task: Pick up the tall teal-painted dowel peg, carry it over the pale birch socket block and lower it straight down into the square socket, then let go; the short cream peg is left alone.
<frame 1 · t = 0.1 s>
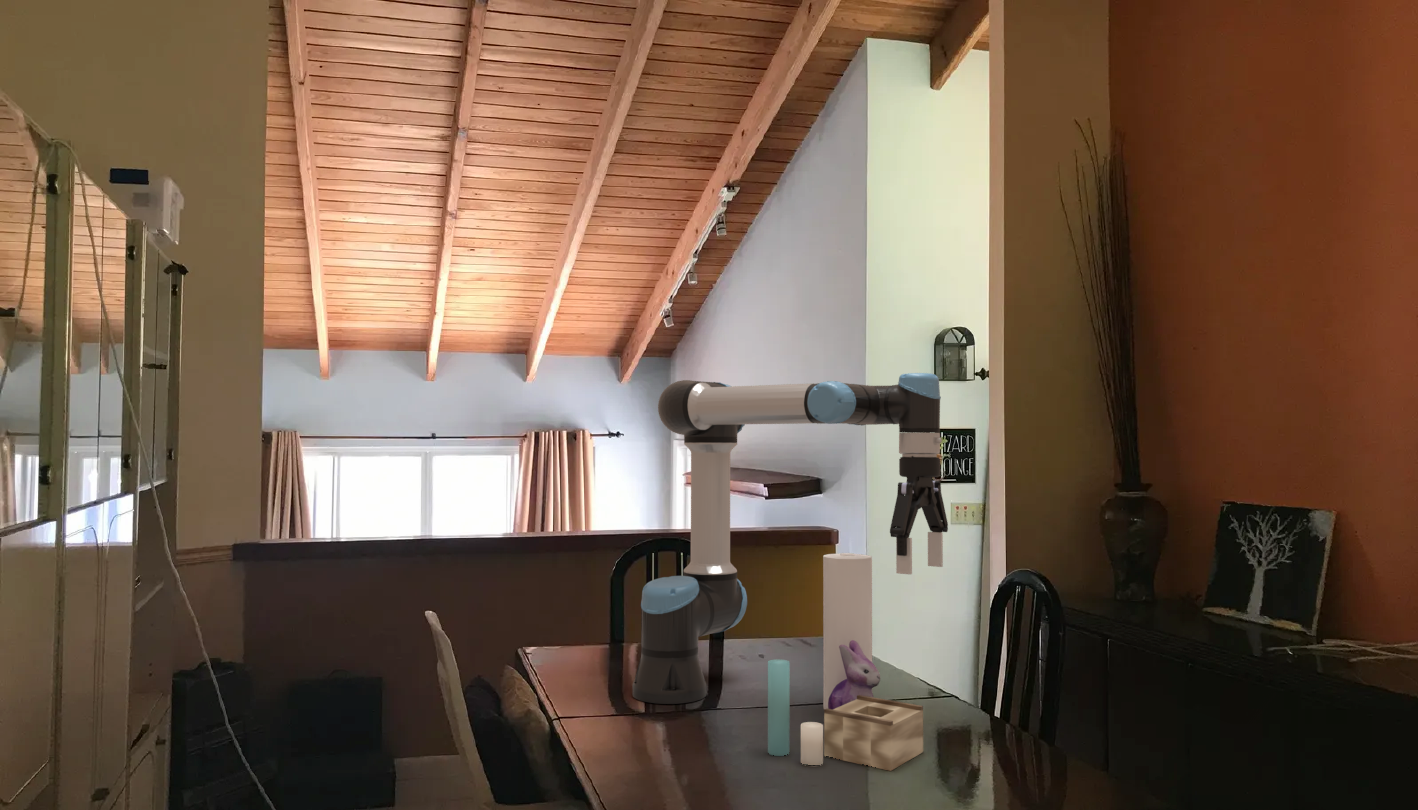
hand: (920, 570, 183), 28 cm above the table, fingers open, 13 cm apart
figurine: (855, 724, 181), on the table
cream peg: (811, 762, 158), on the table
teal peg: (778, 752, 163), on the table
cylinder container: (847, 709, 191), on the table
socket block: (874, 754, 163), on the table
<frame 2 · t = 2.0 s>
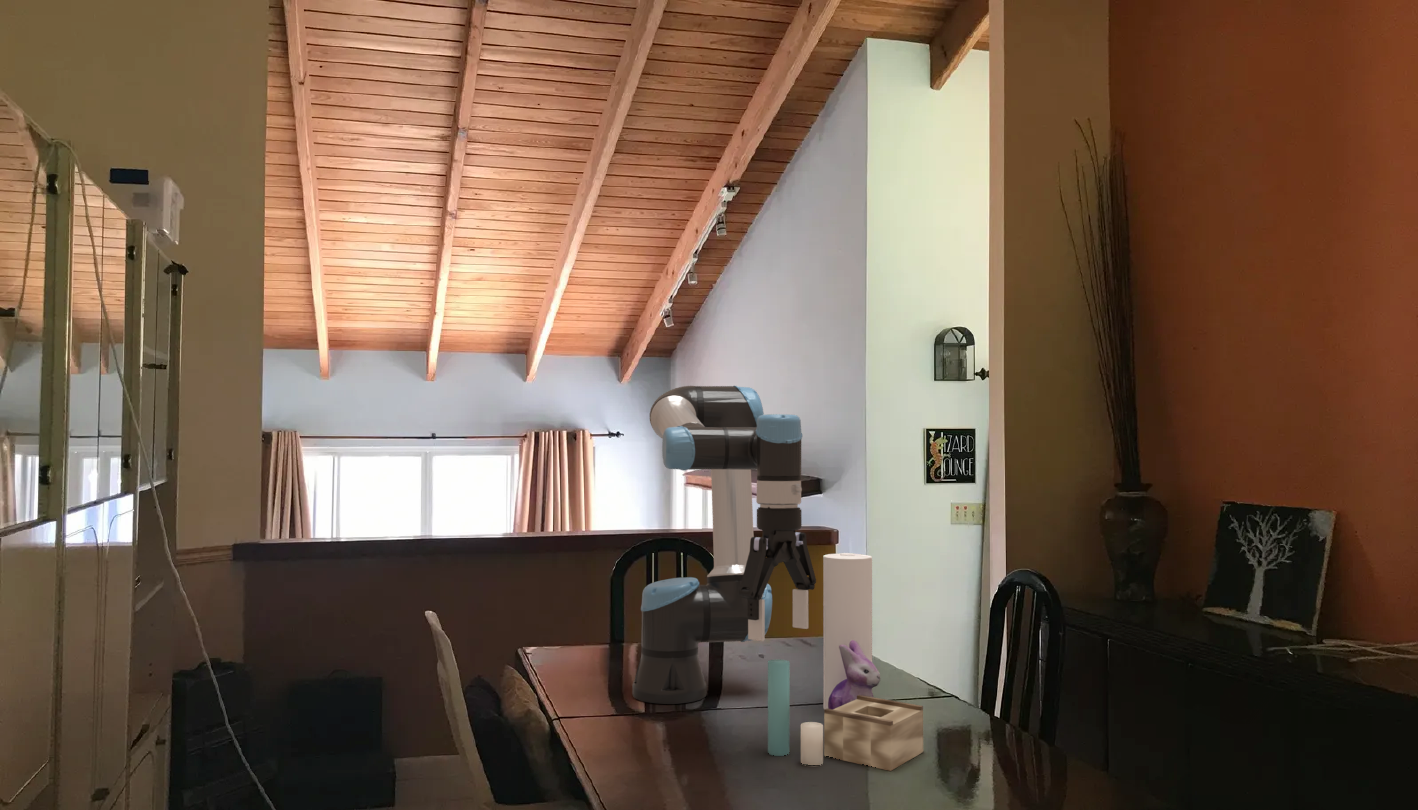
hand: (779, 633, 164), 20 cm above the table, fingers open, 13 cm apart
nothing on the table moved.
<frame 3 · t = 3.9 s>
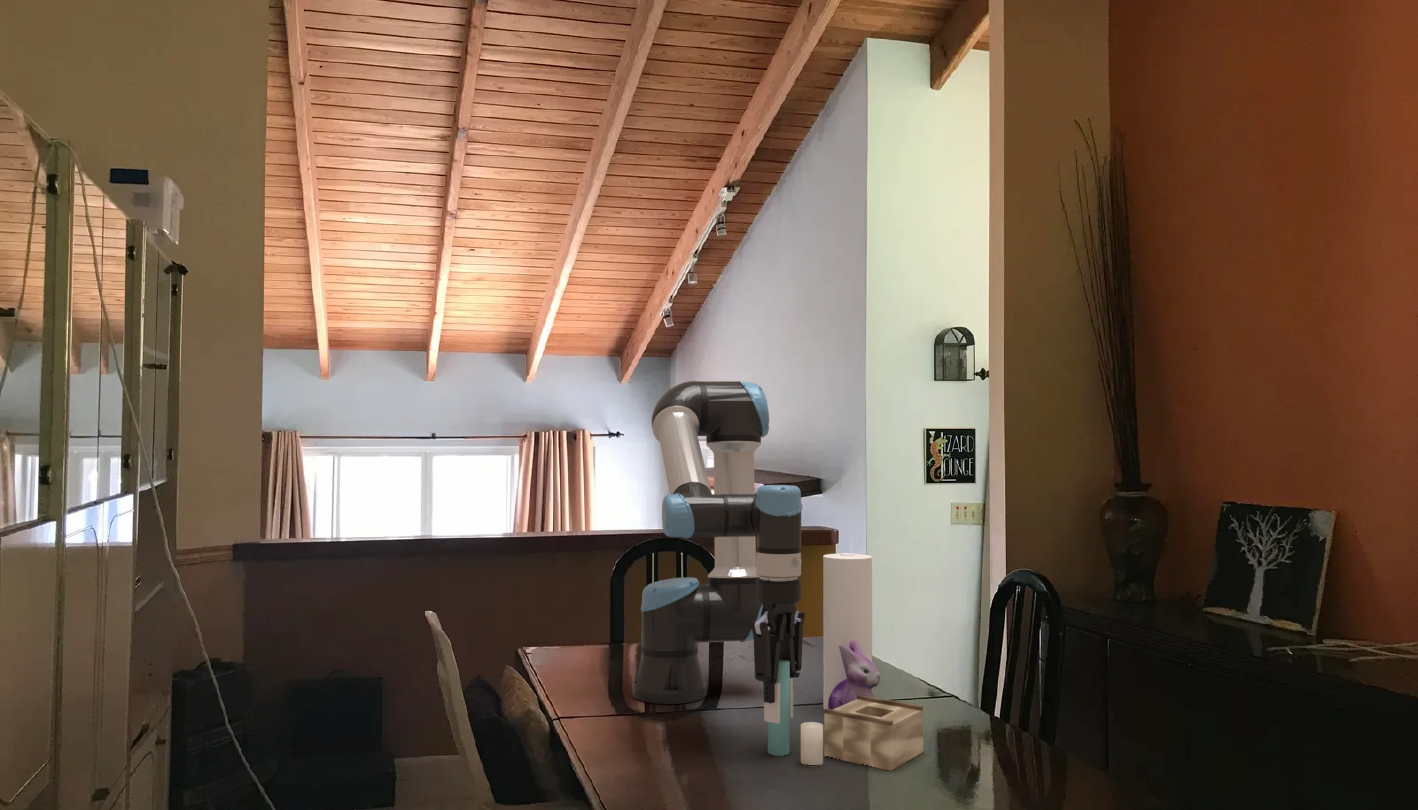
hand: (778, 718, 164), 6 cm above the table, fingers closed on teal peg, 3 cm apart
teal peg: (778, 752, 163), on the table, touching gripper
everything else where it was.
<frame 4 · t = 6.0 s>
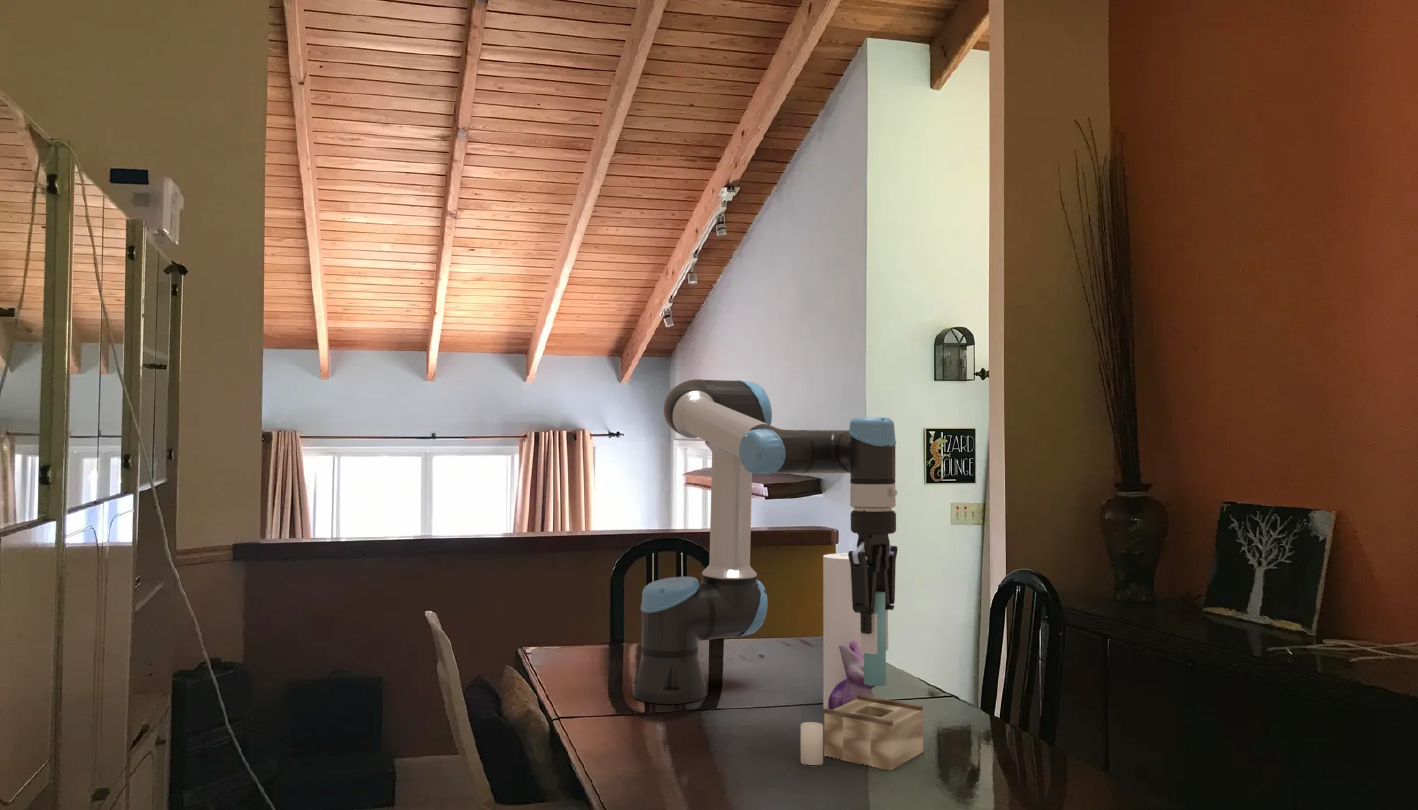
hand: (874, 650, 163), 17 cm above the table, fingers closed on teal peg, 3 cm apart
teal peg: (875, 683, 163), point 12 cm above the table, touching gripper
everything else where it was.
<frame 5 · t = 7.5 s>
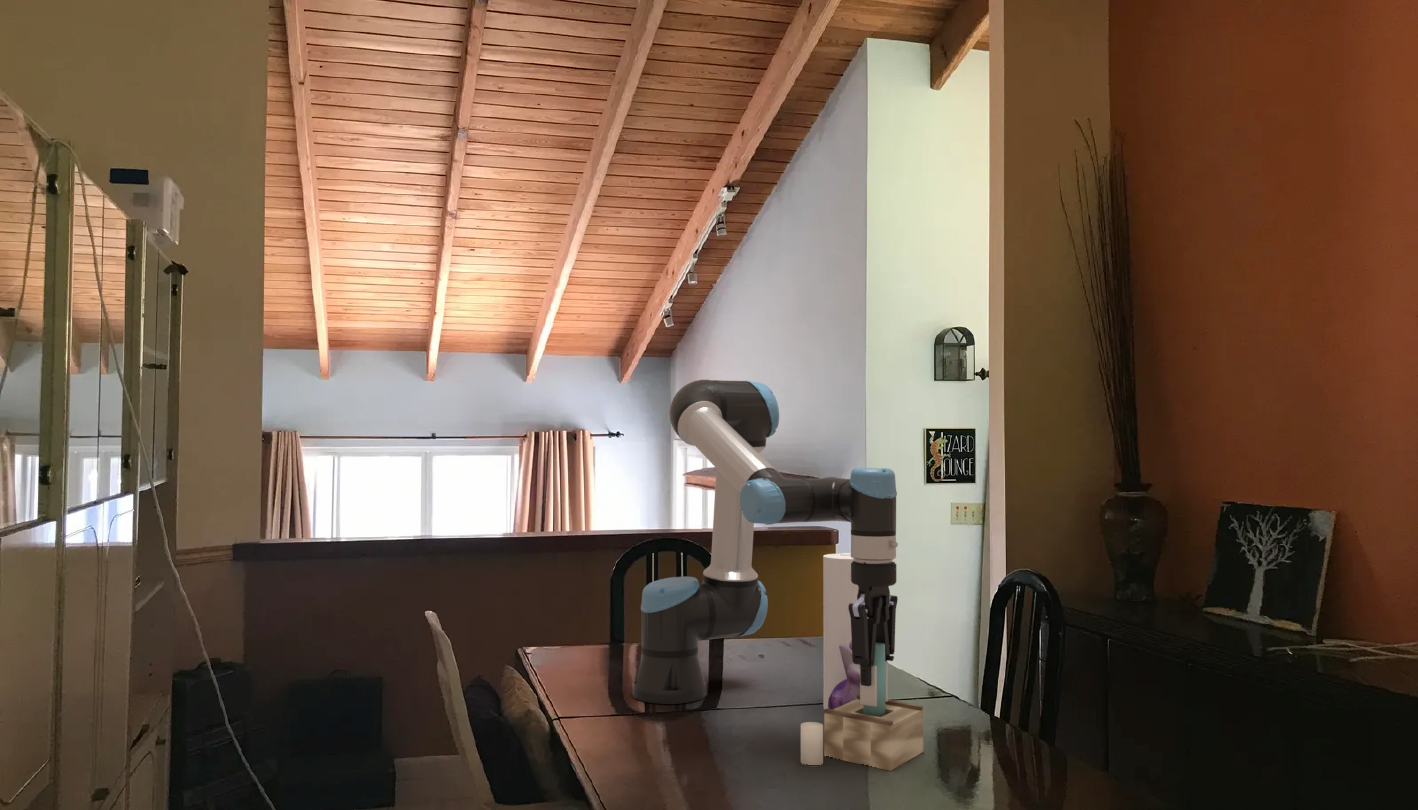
hand: (874, 702, 163), 9 cm above the table, fingers closed on teal peg, 3 cm apart
teal peg: (874, 735, 163), point 3 cm above the table, touching gripper
everything else where it was.
when the fingers open (8 cm above the table, at t = 8.4 s): teal peg drops 3 cm, resting in socket block.
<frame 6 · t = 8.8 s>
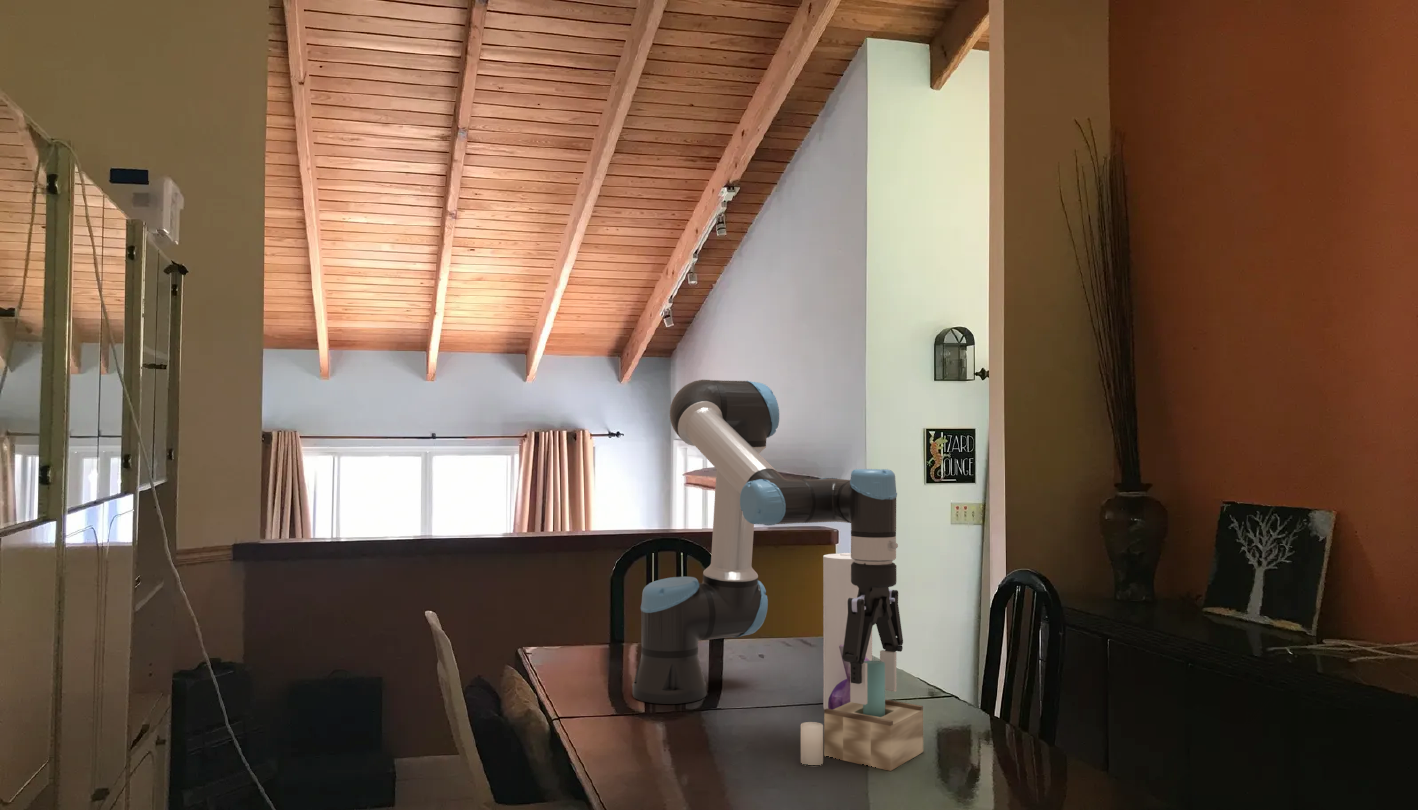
hand: (873, 696, 163), 9 cm above the table, fingers open, 10 cm apart
teal peg: (874, 754, 163), resting in socket block
everything else where it was.
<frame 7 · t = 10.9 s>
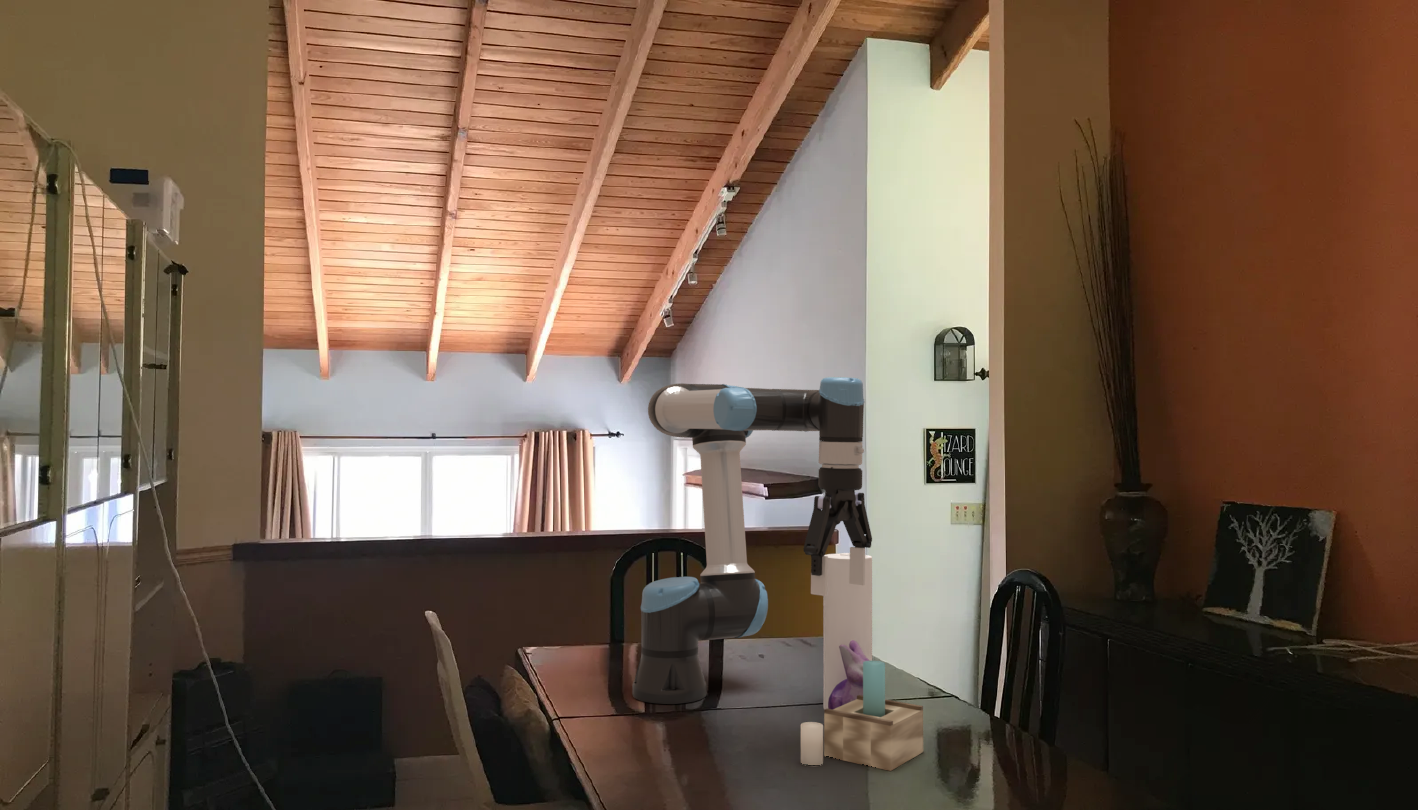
hand: (838, 589, 170), 26 cm above the table, fingers open, 13 cm apart
nothing on the table moved.
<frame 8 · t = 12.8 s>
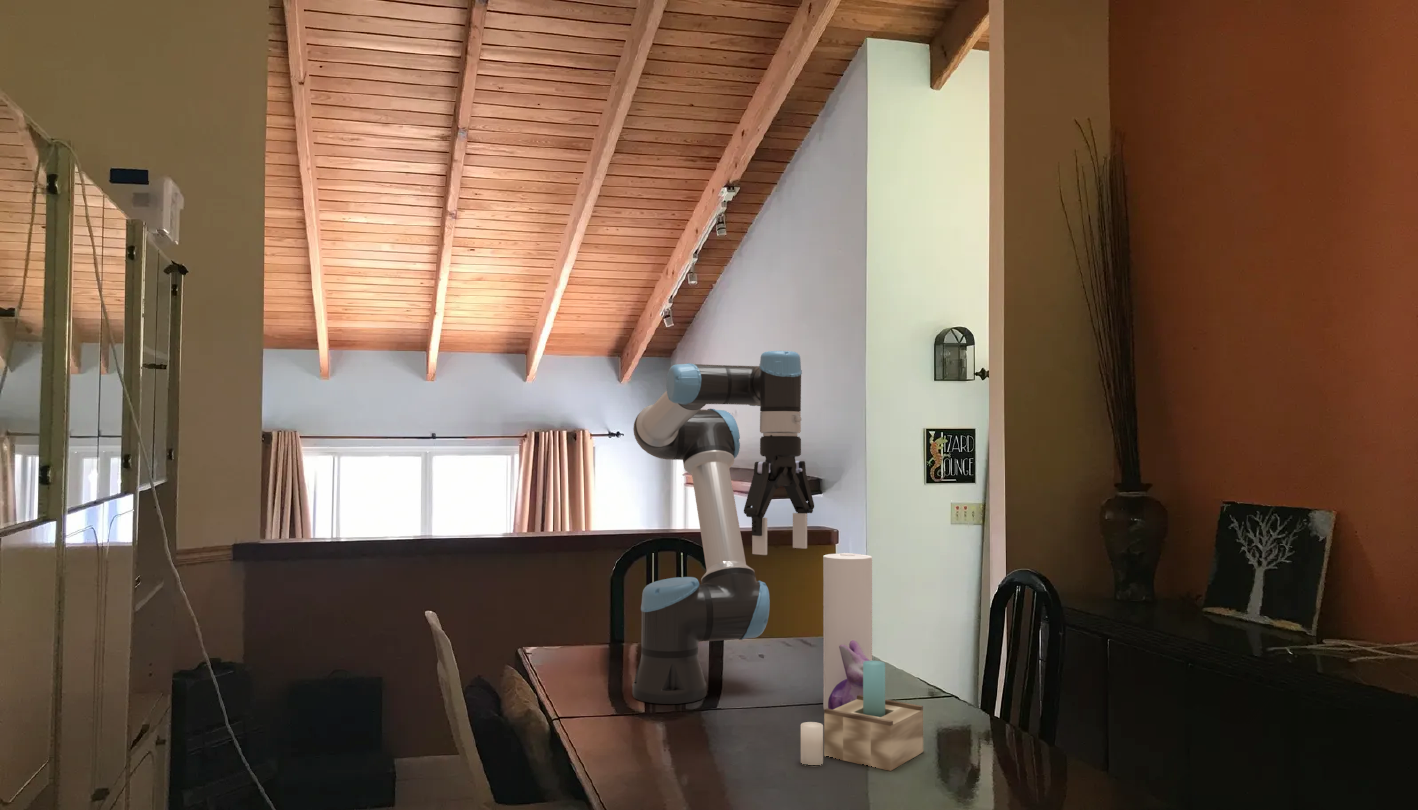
hand: (780, 551, 180), 32 cm above the table, fingers open, 13 cm apart
nothing on the table moved.
at the end: teal peg 0.0 cm off-centre on the socket block, point 0.0 cm above the socket block's base; teal peg tilted 0°; the gripper is holding nothing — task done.
